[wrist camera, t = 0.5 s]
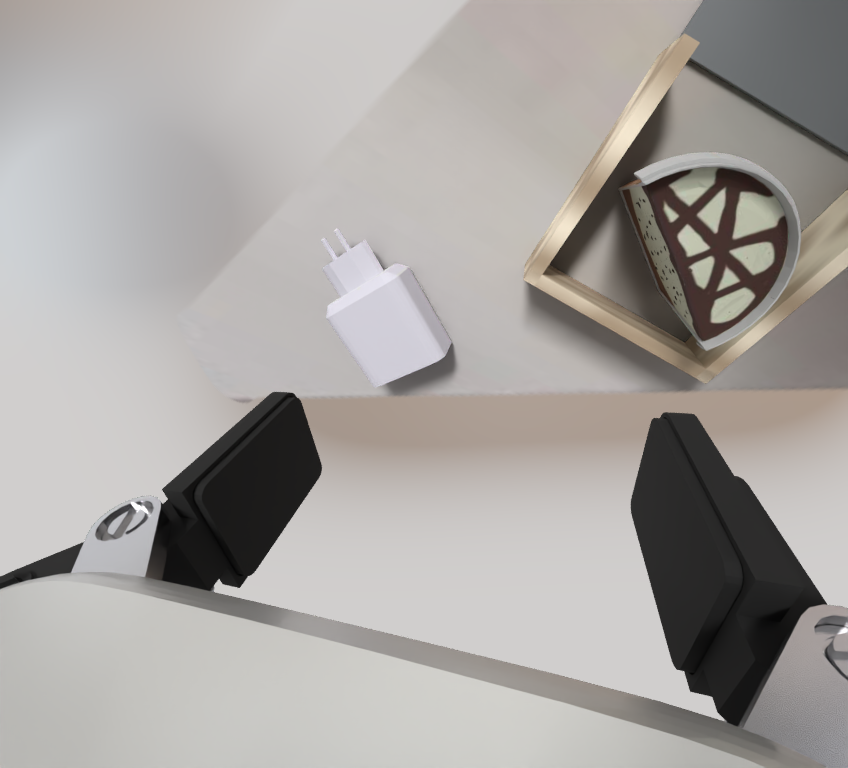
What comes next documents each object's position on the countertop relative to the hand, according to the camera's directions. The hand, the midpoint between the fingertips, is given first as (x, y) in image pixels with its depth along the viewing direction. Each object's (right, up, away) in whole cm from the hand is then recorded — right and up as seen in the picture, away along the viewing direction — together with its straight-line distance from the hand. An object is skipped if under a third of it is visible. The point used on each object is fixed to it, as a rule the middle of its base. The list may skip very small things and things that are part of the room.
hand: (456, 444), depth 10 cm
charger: (-5, +11, +29) cm, 31 cm away
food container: (+19, +15, +19) cm, 30 cm away
